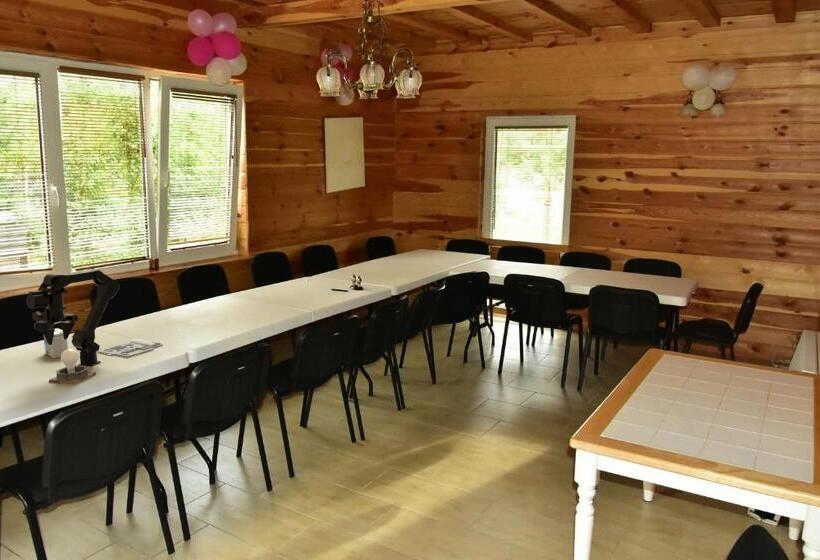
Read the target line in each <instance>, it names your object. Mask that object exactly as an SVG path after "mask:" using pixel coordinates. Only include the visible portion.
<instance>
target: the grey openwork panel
mask: <svg viewBox="0 0 820 560" xmlns="http://www.w3.org/2000/svg"><path fill="white" fill-rule="evenodd" d="M162 346H164V345H163V343H161V342H157V341H153V340H147V339H141V338H134V339H131V340H130V341H129V342H124V343H121V344H118V345H113V346H110V347H107V348H102V349H99V351H96V353H97V352H99V353H98V354H101V353H105V354H104V355H106V354H111V355H119V356H118V357H120V356H123V357H122V358H125V357H126V358H125V359H129V358H128V357H130V358H132V356H133V357H136V356H138V355H139V354H140V355H143V354H146V353H148V352H149V353H150V352H151V351H154V350H155V349H156V347H157V348H160V347H162ZM138 349H139V350H142V349H143V350H142V351H138ZM134 350H136V351H138V352H135V351H134ZM131 351H132V352H134V353H132V352H131ZM127 352H129V353H131V354H129V353H127ZM124 353H126V354H124ZM142 353H143V354H142ZM111 355H110V356H111ZM135 355H136V356H135ZM140 355H139V356H140Z"/></svg>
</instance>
